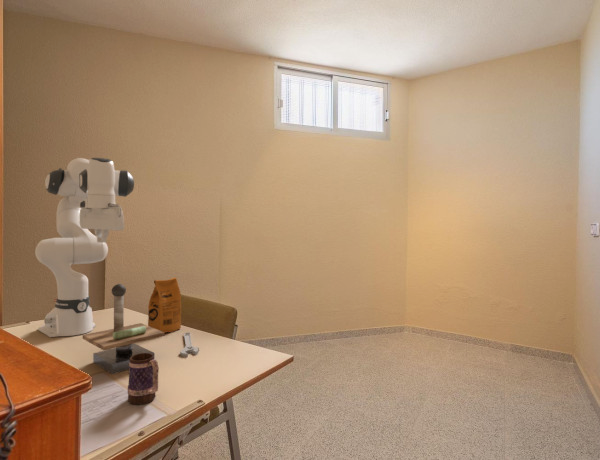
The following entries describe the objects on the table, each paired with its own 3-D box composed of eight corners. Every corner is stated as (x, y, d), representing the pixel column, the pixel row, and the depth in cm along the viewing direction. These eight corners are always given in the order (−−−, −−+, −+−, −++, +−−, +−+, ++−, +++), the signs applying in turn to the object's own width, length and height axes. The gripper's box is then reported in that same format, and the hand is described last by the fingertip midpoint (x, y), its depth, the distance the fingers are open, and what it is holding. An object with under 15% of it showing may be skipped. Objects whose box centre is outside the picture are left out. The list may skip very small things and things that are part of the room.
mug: (122, 399, 106) (122, 355, 105) (147, 390, 111) (147, 348, 111) (142, 412, 100) (142, 365, 99) (167, 402, 105) (167, 357, 105)
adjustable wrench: (183, 336, 162) (183, 332, 162) (199, 335, 163) (199, 331, 163) (179, 358, 138) (179, 353, 137) (198, 357, 139) (198, 352, 139)
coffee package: (144, 331, 166) (144, 279, 165) (170, 324, 176) (170, 275, 175) (157, 336, 160) (158, 282, 159) (184, 329, 170) (184, 278, 169)
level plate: (82, 338, 129) (82, 286, 129) (140, 326, 144) (141, 279, 144) (103, 350, 119) (103, 293, 118) (164, 335, 134) (164, 285, 133)
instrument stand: (93, 362, 131) (93, 340, 131) (134, 351, 142) (134, 330, 142) (112, 374, 122) (112, 350, 122) (154, 361, 133) (154, 339, 132)
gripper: (129, 204, 138) (128, 243, 138) (92, 203, 148) (92, 240, 148) (112, 203, 132) (112, 244, 133) (75, 203, 142) (76, 241, 143)
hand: (101, 242), depth 141 cm, fingers closed
